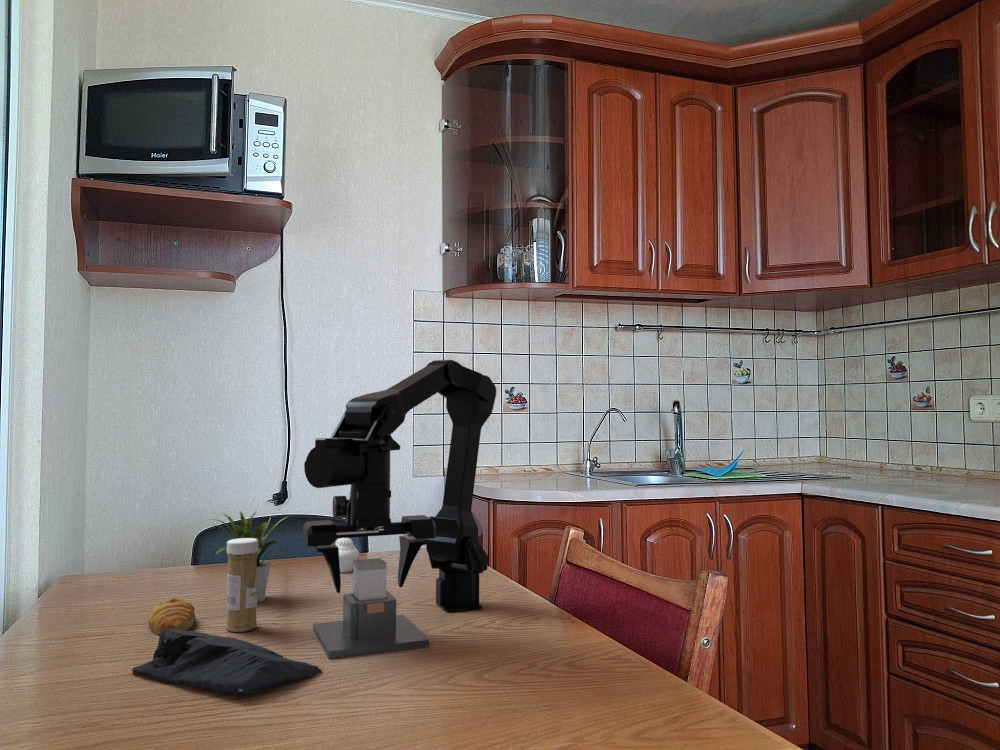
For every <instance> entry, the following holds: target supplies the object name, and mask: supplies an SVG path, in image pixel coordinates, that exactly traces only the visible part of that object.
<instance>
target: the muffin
mask: <svg viewBox="0 0 1000 750" xmlns="http://www.w3.org/2000/svg"><path fill="white" fill-rule="evenodd" d="M335 545H336V546H337V547H338V549H339V564H340V574H341V573H343V574H344V573H345V574H346V573H351V572H352V571H353V560H358V558H359V556H360V551H359V550H358V549H357V548H356V547H355V544H354V541H353V540H352V538H337V539H336V540H335Z"/></svg>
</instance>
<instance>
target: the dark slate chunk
mask: <svg viewBox="0 0 1000 750" xmlns="http://www.w3.org/2000/svg"><path fill="white" fill-rule="evenodd" d="M131 672H132V674H136V675H137V676H143V675H144V676H147V677H150V678H151V679H152V680H153V679H154V680H157V681H159V682H165V683H167V684H173V685H175V686H181V685H183V686H189V687H191V688H194V689H200V690H201V691H208V692H211V693H213V692H214V693H216V694H218V695H226V696H227V695H228V696H237V697H238V696H239V697H242V696H243V697H244V696H248V695H250V694H253V693H257V692H259V691H263V690H266V689H268V688H274V687H279V686H283V685H287V684H291V683H294V682H299V681H304V680H308V679H311V678H312V677H315V676H316V675H317V674H318V673H322V669H321V668H319V667H318V665H314V664H310V663H307V662H305V661H297V660H292V659H289V658H287V657H285V656H283V655H281V654H280V653H277V652H275V651H273V650H270V649H268V648H266V647H263V646H262V645H261V646H260V645H257V644H254V643H251V642H249V641H245V640H242V639H238V638H235V637H230V636H229V637H228V636H220V635H214V634H209V633H206V632H200V631H193V630H186V631H180V630H172V629H168V630H164V631H162V632H161V634H159V639H158V642H157V647H156V649H155V650H154V653H153V655H152V660H150V661H148V662H145V663H143V664H141V665H138V666H135V667H132V669H131Z"/></svg>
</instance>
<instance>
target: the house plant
mask: <svg viewBox="0 0 1000 750" xmlns="http://www.w3.org/2000/svg"><path fill="white" fill-rule="evenodd" d="M256 510H257V509H255V510H254V512H253V514H252V515H251V516H250V518H249V519H247V518H246V517H245V516H244V513H243V512H242V511H241V510H239V515H240V525H239V524H236V523H235V522H234V520H233V518H232V517H231V516H229V515H228V514H225V513H222V512H220V514H221V515H223V516H225V517H226V519H227V520H228V521H229V523H230V524H231V527H230V526H229V525H228V524H227V523H226V522H224V521H222V520H219V519H216V518H215V519H214V518H210V520H211V521H212V520H213V521H217V522H220V523H221V524H223V525H224V526H226V527H227V528H228V530H229V531H230V532H231V533H232V535H233V536H234V539H238V538H254V539H257V540H258V552H257V603H260V602H263V601H264V600H265V598H266V592H267V588H268V587H267V586H268V581H269V575H270V570H271V565H272V564H271V561H268V560H265V558H266V557H267V556H268V554H270V553H271V552H272V551H273V550H275V549H277V548H281V547H282V548H283V547H284V545H278V546H275V547H273V548H272V549H270V550H269V551H268V552H267V553H266V554H265V555H264V557H263V559H261V556H262V555H263V554H264V552H265V551H266V550H267V549H268V548H269V547H270V546H272V545H274V544H276V543H278V542H281V540H270V541H268V542H266V543H264V541H265V540H266V538H267V539H269V537H268V535H269V534H270V532H271V531H273V530H274V528H276V526H277V525H278V524H279V523H281V521H283V520H286V519H287V518H289V517H291V515H290V516H287V517H286V516H285V517H284V518H282V519H280V520H279V521H278V522H276V524H274V525H273V527H272V528H271V529H270V530H269V531H268V532H267V534H266V535H265V536H264V534H265V532H266V530H267V528H268V527H269V524H270V521H271V519H272V517H273V516H272V515H271V516H270V517H269V519H268V521H264V522H262V523H260V525H259V526H258V527H257V528H255V530H254V533H252V523H253V518H254V517H255V515H256V514H257V511H256ZM214 526H216V527H219V528H220V529H222V530H223V531H224V532H225V533H226V534H227V535H228V537H229V538H230V540H232V539H233V538H232V537H231V535H230V534H229V533H228V531H227V530H226V528H224V527H223V526H220V525H219V524H213V527H214ZM263 543H264V544H263ZM225 544H226V546H224V547H222V545H219V544H215V543H213V545H215V546H218V547H220V548H219V549H218V550H217V551H216V553H215V555H217V554H220V552H223V551H226V552H227V542H225Z"/></svg>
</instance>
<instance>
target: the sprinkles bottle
mask: <svg viewBox="0 0 1000 750" xmlns="http://www.w3.org/2000/svg"><path fill="white" fill-rule="evenodd" d="M226 543H227V545H226V547H227V549H226V550H227V551H226V554H227V573H226V609H227V611H226V614H227V615H226V616H227V617H226V626H225V629H226V630H227V631H228V632H231V633H232V632H233V633H244V632H249V631H252V630H255V629H256V628H257V626H258V622H257V605H258V602H257V552H258V540H257V539H254V538H253V537H252V538H238V539H236V538H232V540H231V539H229V540H228V541H227V542H226Z"/></svg>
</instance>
